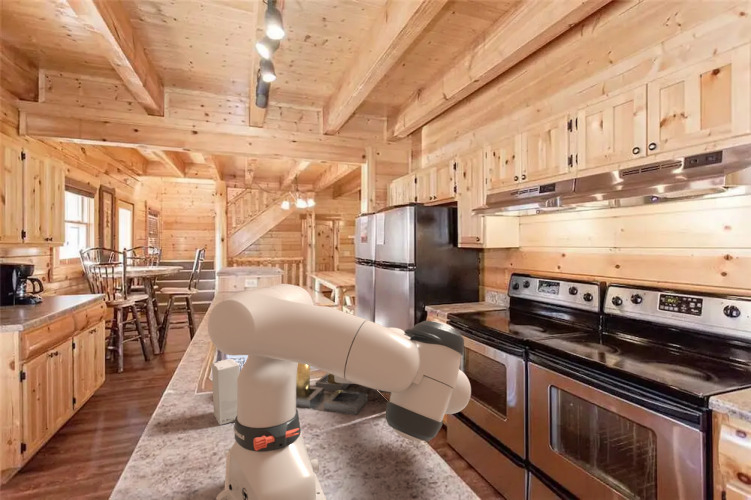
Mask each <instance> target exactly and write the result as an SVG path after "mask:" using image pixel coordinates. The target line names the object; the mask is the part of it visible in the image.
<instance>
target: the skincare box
mask: <svg viewBox="0 0 751 500" xmlns="http://www.w3.org/2000/svg"><path fill="white" fill-rule="evenodd" d="M239 373H240V364H239V363H238V362H237V361H235V359H233V358H229V359H223V360H219V361H214V362H211V374H212V376H211V377H212V378H211V379H212V401H213V402H212V403H213V405H212V406H213V416H214V417H215V419H216V422H217V423H218V425H219V426H223V425H225V424H229V423H235V418H236V416H237V379H238V375H239Z"/></svg>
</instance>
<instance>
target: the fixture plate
mask: <svg viewBox="0 0 751 500" xmlns="http://www.w3.org/2000/svg"><path fill="white" fill-rule="evenodd" d="M324 392H325V390H324V388H320V387H316V386H311V385H310V396H309V397H307V398H306V397H298V396H296V408H300V409H308V410H313V411H323V412H329V413H336V414H344V415H350V416H351V415H352V416H358V415H359V413H360V411H362V409H363V408H364V406H365V405H366V403H367V402H368V401H369V398H368V393H367V392H360V391H353V390H346V389H345V390H336V391H333V393H324Z"/></svg>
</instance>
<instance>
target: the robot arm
mask: <svg viewBox="0 0 751 500" xmlns="http://www.w3.org/2000/svg"><path fill="white" fill-rule="evenodd" d="M207 319H208V320H207V332H208V336H209V338H210V341H211V343H212V345H214V346H215V348H216V349H217V351H219V352H221V353H223V354H225V355H227V356H247V358H246V360H245V362H244V365H243V366H242V368H241V369H240V370H239V375H238V379H237V416H236V418H235V422H234V425H233V432H234V443H233V444H232V447H230V449H229V450H228V452H227V453H226V455H225V456H226V459H225V475H224V476H225V479H224V489H223V490H222V491H220V492H219V493H218V494H217V496H216V498H215V500H327V498H326V495H325V494H324V493H325V492H324V491H323V488H322V486H321V483H320V481H319V479H318V476H317V474H316V473H318V472H320V465H319V460H318V459H317V458H314V459H310V457H309V452H310V445H309V443H308V444H307V443H306V444H305V441H304V438H303V433H302V429H301V420H300V415H299V411H298V409H297V407H296V377H297V367H298V363H301V364H305V365H309V366H310V367H312V368H314V369H317V370H319V371H323V372H325V373H326V374H327V373H330V374H333V375H334V381H335V382H336V383H341V384H342V383H343V384H350V385H354V384H356V385H359V386H362V387H365V388H369V389H373V390H377V391H379V392H380V393H387V394H390V396H389V401H388V400H387V402H386V407H385V420H386V423H387V424H388V426H389V427H390V428H392V430H393V431H394V432H396V433H397V434H398V435H399V436H401V437H402V438H404V439H406V440H408V441H412V442H429V441H431V440H433V439H434V438H435V437H436V436H437V435H438V433H439V431H440V430H441V428H442V426H443V420H444V417H445V415H452V414H456V413H459V412H462V410H464V409H465V408H466V407H467V406H468V404H469V401H470V400H471V395H472V386H471V383H470V380H469V378H468V376H467V375H466V374H465V373H464V371H462V370H461V369H460V366H461V360H462V356H464V350H465V338H464V337H463V336H462V334H461V332H460V331H458V330H456V329H455V328H454V327H453V326H452V325H450V324H448V323H445V322H442V321H439V320H423V321H421V322H418V323H416V324H415V325H414V326H413V327H412V328H411V329H410V328H408V329H405V330H403V329H401V328H399V327H386V326H384V325H383V324H382V325H381V324H380V323H376V322H375V321H371V320H369V319H366V318H363V317H360V316H357V315H354V314H352V313H348V312H345V311H343V310H340V309H337V308H334V307H332V306H331V307H330V306H326V305H324V306H322V305H314V301H313V298H312V297H311V294H310V293H309V291H307V290H306V289H305V288H303V287H301V286H300V285H299V286H298V285H295V284H290V283H289V284H288V283H278V284H274V285H267V286H263V287H259V288H258V287H257V288H253V289H249V290H244V291H239V292H236V293H234V294H233V295H231V296H228V297H227V298H224V300H222V301H220V302H218V303H216V304H215V306H214V307H213V308H212V309H211V311H210V313H209V316H208V318H207Z"/></svg>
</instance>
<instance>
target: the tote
mask: <svg viewBox="0 0 751 500" xmlns="http://www.w3.org/2000/svg"><path fill="white" fill-rule="evenodd" d="M350 385H351V384H343V383H341V385H340V384H332V383H328V373H327V372H326V373H325V374H324V375H323V376H322V377H320V378H319V379H318V380H317V381H316V382H315V387H320V388H324V391H327V392H328V391H330V392H335V391H336V390H345V391H346V389H348V387H349V386H350Z"/></svg>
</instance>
